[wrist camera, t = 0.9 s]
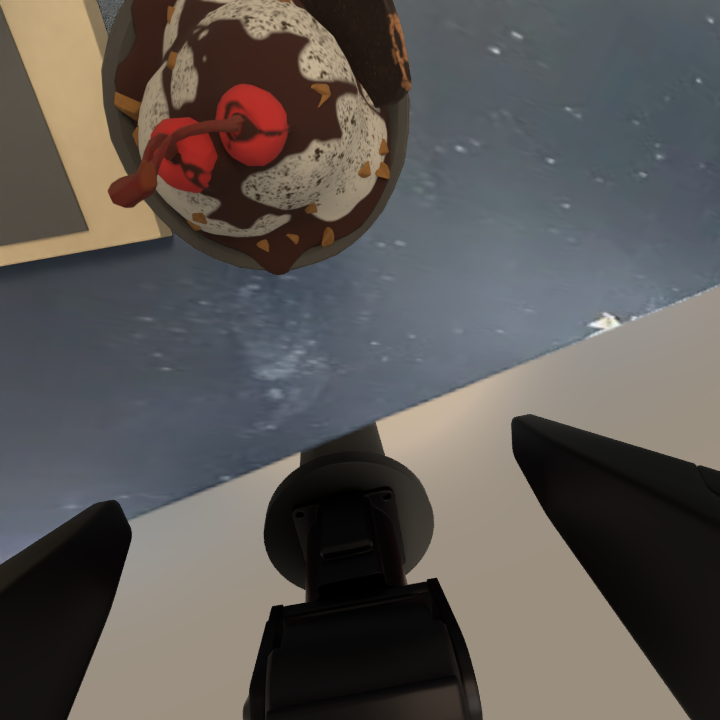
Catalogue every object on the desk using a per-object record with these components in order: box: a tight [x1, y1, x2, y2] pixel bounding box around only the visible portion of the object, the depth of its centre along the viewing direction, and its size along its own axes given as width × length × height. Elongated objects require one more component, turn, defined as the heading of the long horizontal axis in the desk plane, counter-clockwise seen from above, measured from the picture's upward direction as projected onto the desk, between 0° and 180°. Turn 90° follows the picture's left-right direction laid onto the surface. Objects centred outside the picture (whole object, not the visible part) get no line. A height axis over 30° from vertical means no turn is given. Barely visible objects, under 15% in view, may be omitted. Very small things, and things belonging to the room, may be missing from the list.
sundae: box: [101, 0, 411, 275], centre depth 11 cm, size 7×7×15 cm
